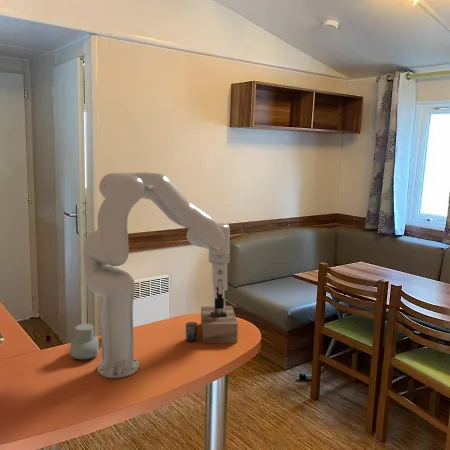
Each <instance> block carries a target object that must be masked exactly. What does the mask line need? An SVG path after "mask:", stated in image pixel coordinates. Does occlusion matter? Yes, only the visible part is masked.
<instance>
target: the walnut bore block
mask: <svg viewBox="0 0 450 450" xmlns="http://www.w3.org/2000/svg"><path fill="white" fill-rule="evenodd" d="M200 325H201V326H200V327H201V336H202V344H224V343H230V344H231V343H238V320H237V317H236V314H235V311H234V308H233V305H224V317H217V318H213V306H211V305H210V306H205V305H204V306H200Z"/></svg>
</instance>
